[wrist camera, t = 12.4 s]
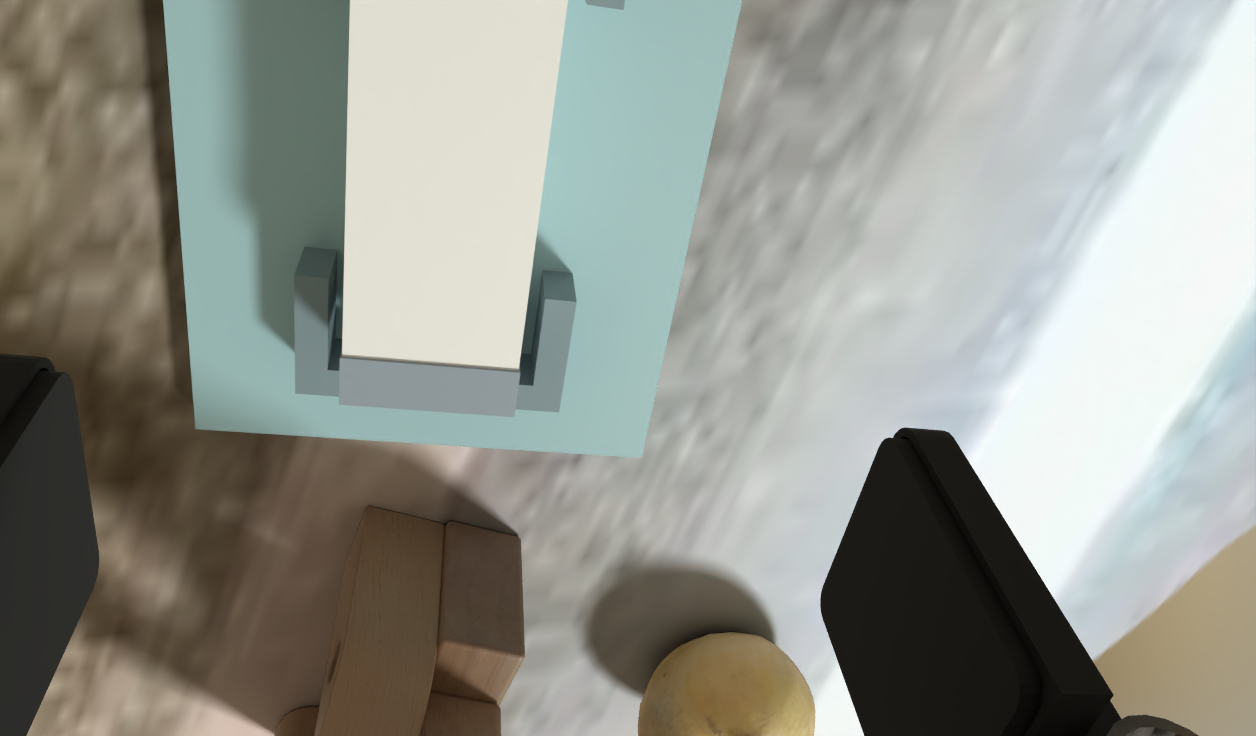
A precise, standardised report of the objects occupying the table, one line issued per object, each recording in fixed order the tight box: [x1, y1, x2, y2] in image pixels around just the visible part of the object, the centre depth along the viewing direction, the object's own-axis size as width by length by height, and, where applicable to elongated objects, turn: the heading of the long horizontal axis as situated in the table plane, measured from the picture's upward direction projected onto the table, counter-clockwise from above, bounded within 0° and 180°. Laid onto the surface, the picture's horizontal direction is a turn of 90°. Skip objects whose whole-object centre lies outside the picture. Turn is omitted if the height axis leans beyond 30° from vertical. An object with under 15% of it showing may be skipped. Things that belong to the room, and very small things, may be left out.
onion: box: [638, 632, 815, 736], centre depth 43 cm, size 8×8×7 cm
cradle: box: [163, 0, 742, 458], centre depth 29 cm, size 24×16×3 cm, turn 170°
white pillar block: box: [339, 0, 568, 417], centre depth 28 cm, size 14×5×5 cm, turn 170°
